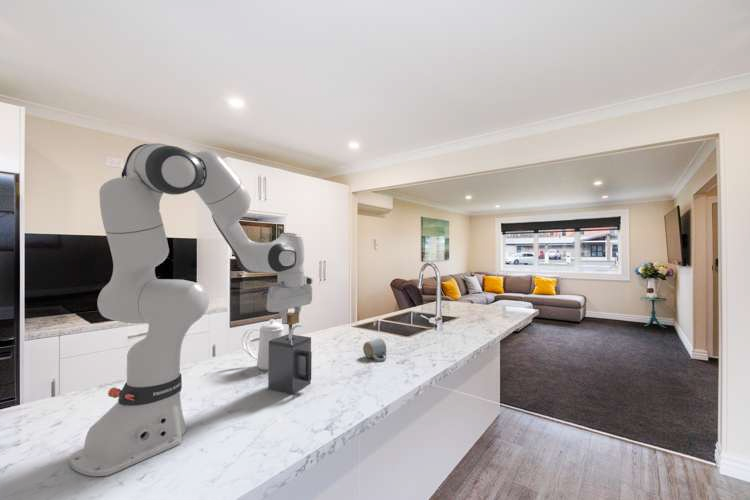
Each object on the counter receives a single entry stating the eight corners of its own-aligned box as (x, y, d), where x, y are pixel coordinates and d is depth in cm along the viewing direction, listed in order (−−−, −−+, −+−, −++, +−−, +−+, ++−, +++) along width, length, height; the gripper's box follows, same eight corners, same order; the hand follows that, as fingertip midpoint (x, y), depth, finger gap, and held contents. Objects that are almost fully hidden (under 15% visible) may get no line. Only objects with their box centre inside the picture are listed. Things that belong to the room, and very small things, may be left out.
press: (300, 396, 106) (301, 345, 106) (268, 389, 112) (268, 340, 112) (318, 385, 115) (318, 338, 115) (287, 379, 121) (288, 334, 121)
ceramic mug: (361, 356, 148) (362, 339, 148) (376, 353, 152) (377, 336, 152) (375, 363, 139) (376, 345, 139) (391, 359, 144) (391, 342, 144)
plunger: (291, 374, 110) (292, 316, 110) (275, 371, 112) (276, 314, 113) (304, 368, 116) (304, 313, 116) (288, 365, 119) (289, 311, 119)
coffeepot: (298, 372, 127) (298, 323, 127) (235, 369, 130) (236, 321, 130) (307, 363, 138) (307, 317, 138) (249, 360, 140) (249, 316, 141)
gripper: (277, 283, 104) (277, 328, 104) (315, 278, 122) (315, 316, 122) (261, 282, 106) (261, 326, 106) (301, 278, 125) (301, 315, 125)
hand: (290, 321), depth 114 cm, fingers closed on plunger, 4 cm apart
